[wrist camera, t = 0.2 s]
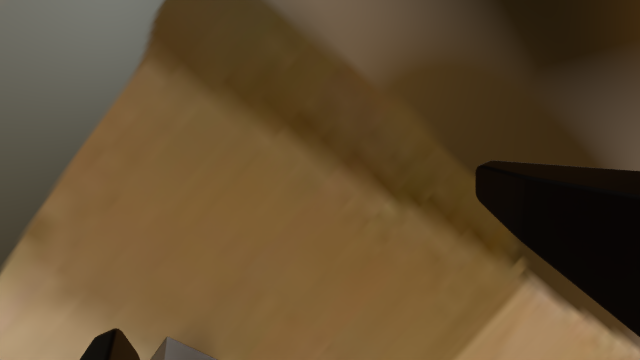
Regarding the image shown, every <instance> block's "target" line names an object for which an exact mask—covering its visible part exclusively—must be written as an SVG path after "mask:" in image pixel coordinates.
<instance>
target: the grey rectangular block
mask: <svg viewBox="0 0 640 360" xmlns="http://www.w3.org/2000/svg"><path fill="white" fill-rule="evenodd" d="M150 360H216V359H214V358H212V357H210V356H208V355H206V354H204V353H201V352H199V351H197V350H195V349H193V348H191V347H189V346H186V345H184V344H182V343H180V342H178V341H176V340H174V339H171V338H169V337H167V338H166V339H165V340H164V342H163V343H162V344H161V346H160V347H159V349H158V350H157V351H156V353H155V354H154V355H153V357H152V358H151V359H150Z"/></svg>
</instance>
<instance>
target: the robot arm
mask: <svg viewBox="0 0 640 360" xmlns="http://www.w3.org/2000/svg"><path fill="white" fill-rule="evenodd" d="M476 196H477V198H478V200H479V201H480V202H481V203H482V204H483V205H484V206H485V207H486V208H487V209H488V210H489V211H490V212H491V213H492V214H493V215H494V216H495V217H496V218H497V219H498V220H499V221H500V222H501V223H502V224H503V225H504V226H505V227H506V228H507V229H508V230H509V231H510V232H511V233H512V234H513V235H515V236H516V237H517V238H518V239H519V240H520V241H521V242H523V243H524V244H525V245H526V246H527V247H528V248H530V249H531V250H532V251H533V252H534V253H536V254H537V255H538V256H539V257H541V258H542V259H543V260H544V261H546V262H547V263H548V264H549V265H551V266H552V267H553V268H554V269H556V270H557V271H558V272H559V273H561V274H562V275H563V276H564V277H566V278H567V279H568V280H569V281H571V282H572V283H573V284H574V285H576V286H577V287H578V288H579V289H580V290H582V291H583V292H584V293H586V294H587V295H588V296H589V297H590V298H592V299H593V300H594V301H595V302H597V303H598V304H599V305H600V306H602V307H603V308H604V309H605V310H607V311H608V312H609V313H610V314H612V315H613V316H614V317H615V318H617V319H618V320H619V321H620V322H621V323H623V324H624V325H625V326H627V327H628V328H629V329H630V330H632V331H633V332H634V333H635V334H636V335H638V336H639V337H640V171H630V170H615V169H603V168H589V167H575V166H562V165H548V164H534V163H519V162H507V161H488V162H486V163H484V164H481V165H480V166H478V167H477V169H476ZM80 360H140V358H139V356H138V354H137V352H136V350H135V349H134V348H133V346H132V345H131V343H130V342H129V341H128V339H127V338H126V336H125V335H124V334H123V332H122V331H121V330H119V329H116V328H115V329H112V330H110V331H107V332H105V333H103V334H101V335H99V336H97V337H95V338H94V340H93V341H92V342H91V344H90V345H89V347H88V348H87V350H86V351H85V353H84V354H83V355H82V357H81V358H80Z"/></svg>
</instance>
